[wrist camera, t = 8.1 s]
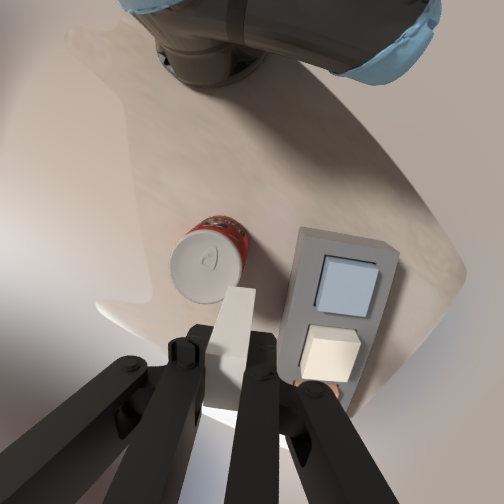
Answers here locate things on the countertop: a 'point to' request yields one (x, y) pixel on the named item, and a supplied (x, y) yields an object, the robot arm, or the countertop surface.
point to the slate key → (345, 285)
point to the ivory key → (328, 353)
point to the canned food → (209, 260)
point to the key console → (305, 312)
